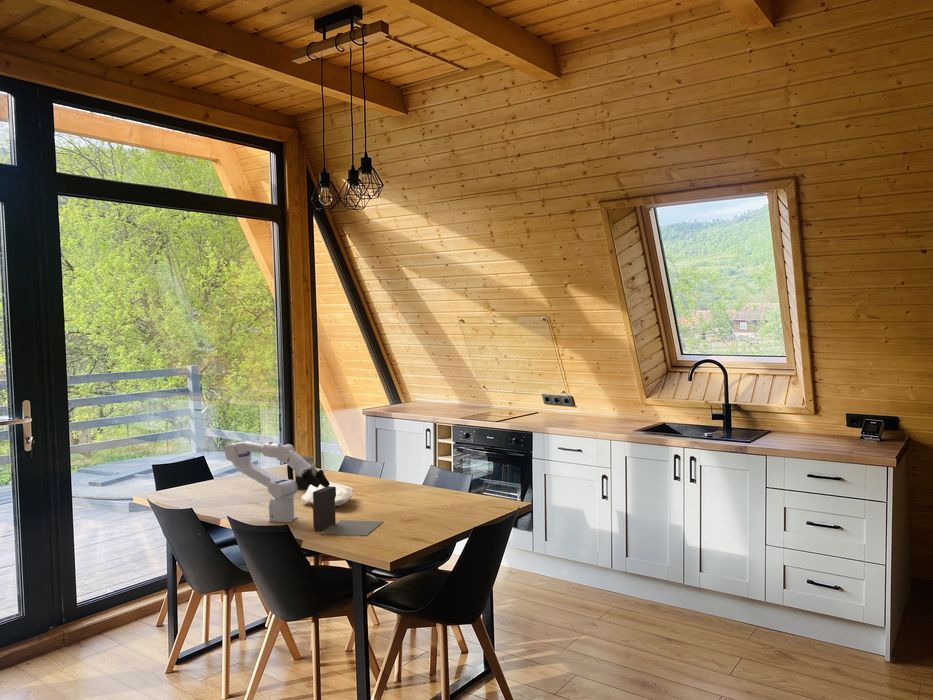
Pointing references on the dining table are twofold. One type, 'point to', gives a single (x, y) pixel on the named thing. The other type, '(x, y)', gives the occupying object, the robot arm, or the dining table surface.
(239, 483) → the dining table surface
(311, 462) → the milk frother
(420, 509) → the dining table surface
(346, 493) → the crumpled cloth
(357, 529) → the placemat
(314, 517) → the calculator
